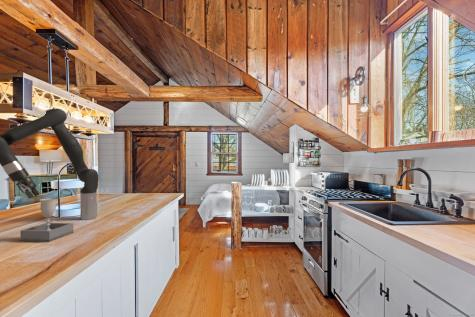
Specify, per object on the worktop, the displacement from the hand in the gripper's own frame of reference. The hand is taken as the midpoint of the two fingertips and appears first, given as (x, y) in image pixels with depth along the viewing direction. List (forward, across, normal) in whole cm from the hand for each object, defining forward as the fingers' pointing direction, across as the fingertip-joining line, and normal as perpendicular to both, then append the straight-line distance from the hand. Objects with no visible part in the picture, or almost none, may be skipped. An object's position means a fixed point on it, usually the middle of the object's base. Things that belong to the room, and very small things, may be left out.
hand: (34, 196), depth 132 cm
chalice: (+20, -12, +9) cm, 25 cm away
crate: (+20, -12, +9) cm, 25 cm away
